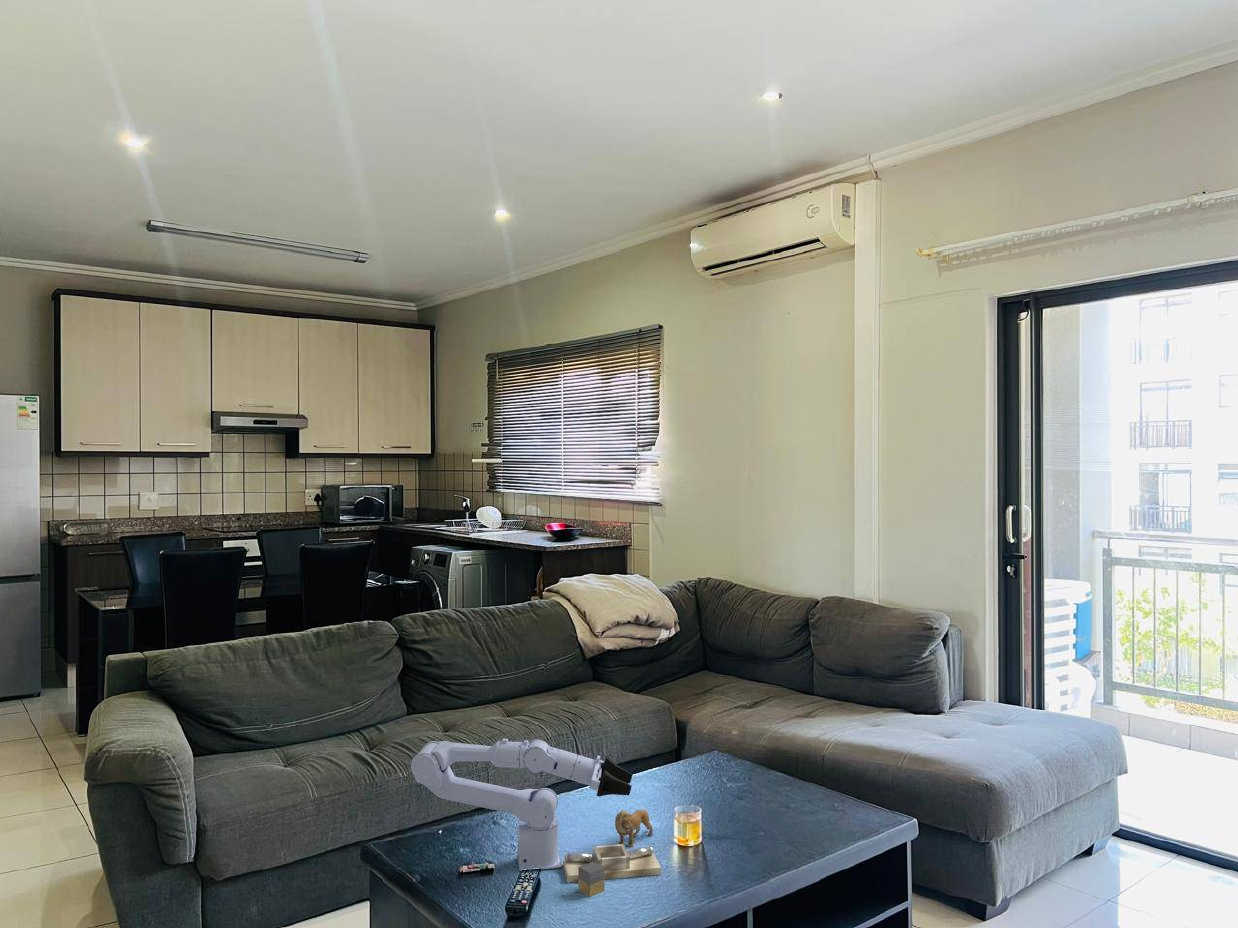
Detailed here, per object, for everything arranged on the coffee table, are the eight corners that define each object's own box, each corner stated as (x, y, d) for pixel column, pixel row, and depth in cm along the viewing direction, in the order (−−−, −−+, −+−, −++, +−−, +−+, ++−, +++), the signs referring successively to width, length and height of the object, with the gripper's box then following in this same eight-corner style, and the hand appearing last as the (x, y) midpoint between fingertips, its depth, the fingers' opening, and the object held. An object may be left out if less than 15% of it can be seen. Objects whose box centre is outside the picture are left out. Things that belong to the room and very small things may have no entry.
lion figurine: (629, 854, 207) (629, 816, 207) (609, 849, 209) (609, 812, 209) (657, 832, 220) (657, 796, 220) (638, 828, 222) (638, 792, 222)
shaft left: (594, 860, 200) (594, 852, 200) (593, 863, 198) (593, 855, 198) (564, 859, 201) (564, 851, 201) (563, 862, 199) (563, 854, 199)
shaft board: (568, 882, 193) (568, 864, 193) (562, 864, 201) (562, 846, 201) (661, 874, 196) (661, 856, 196) (652, 856, 205) (652, 839, 205)
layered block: (590, 896, 186) (590, 873, 186) (578, 890, 189) (578, 866, 189) (604, 890, 189) (604, 867, 189) (592, 884, 192) (592, 861, 192)
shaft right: (628, 860, 200) (628, 852, 200) (625, 857, 201) (625, 849, 201) (655, 855, 203) (655, 847, 203) (651, 852, 204) (651, 844, 204)
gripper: (576, 760, 195) (635, 778, 195) (582, 740, 210) (636, 757, 209) (567, 791, 195) (626, 809, 195) (573, 769, 210) (628, 785, 209)
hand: (631, 784), depth 202 cm, fingers open, 7 cm apart
